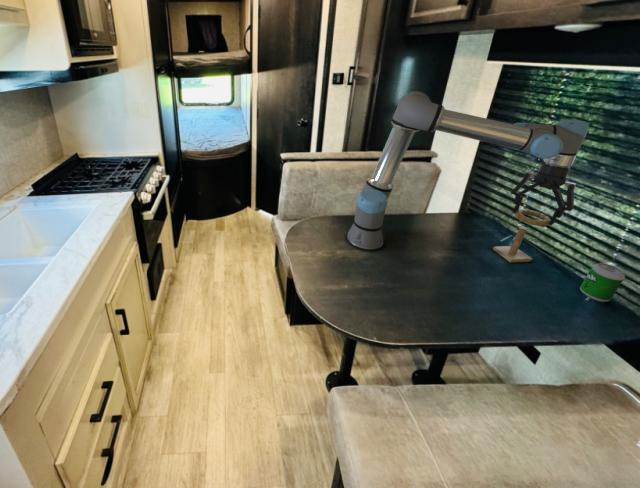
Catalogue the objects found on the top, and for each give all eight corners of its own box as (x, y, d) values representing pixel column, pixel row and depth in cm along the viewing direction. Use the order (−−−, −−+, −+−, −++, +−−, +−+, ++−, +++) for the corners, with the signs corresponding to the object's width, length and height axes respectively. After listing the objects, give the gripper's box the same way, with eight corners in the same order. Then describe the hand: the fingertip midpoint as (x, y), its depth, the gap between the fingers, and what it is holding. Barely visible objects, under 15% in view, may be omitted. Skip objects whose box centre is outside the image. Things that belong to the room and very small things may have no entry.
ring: (507, 213, 125) (509, 209, 125) (532, 212, 126) (534, 208, 125) (530, 227, 116) (532, 222, 115) (557, 226, 116) (559, 221, 116)
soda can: (612, 298, 109) (630, 271, 104) (604, 306, 106) (622, 279, 101) (582, 285, 115) (598, 259, 110) (574, 292, 112) (590, 266, 106)
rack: (492, 249, 135) (503, 222, 130) (512, 248, 136) (523, 221, 130) (510, 262, 127) (522, 234, 121) (531, 261, 128) (544, 233, 122)
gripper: (513, 157, 118) (493, 208, 127) (599, 176, 101) (569, 234, 110) (521, 153, 122) (501, 203, 131) (605, 171, 104) (575, 228, 114)
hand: (532, 217), depth 121 cm, fingers closed on ring, 10 cm apart
